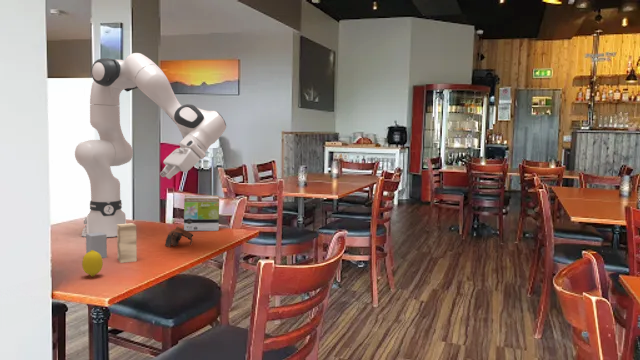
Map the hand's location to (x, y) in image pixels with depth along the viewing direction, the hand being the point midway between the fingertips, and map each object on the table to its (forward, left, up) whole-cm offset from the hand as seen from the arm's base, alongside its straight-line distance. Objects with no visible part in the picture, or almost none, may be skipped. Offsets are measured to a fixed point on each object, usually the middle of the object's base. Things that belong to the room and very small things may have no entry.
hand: (164, 176), depth 180 cm
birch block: (+3, -13, -27) cm, 31 cm away
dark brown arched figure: (-11, +8, -28) cm, 31 cm away
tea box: (-38, +27, -28) cm, 55 cm away
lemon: (+18, -26, -28) cm, 42 cm away
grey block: (-6, -21, -27) cm, 35 cm away
